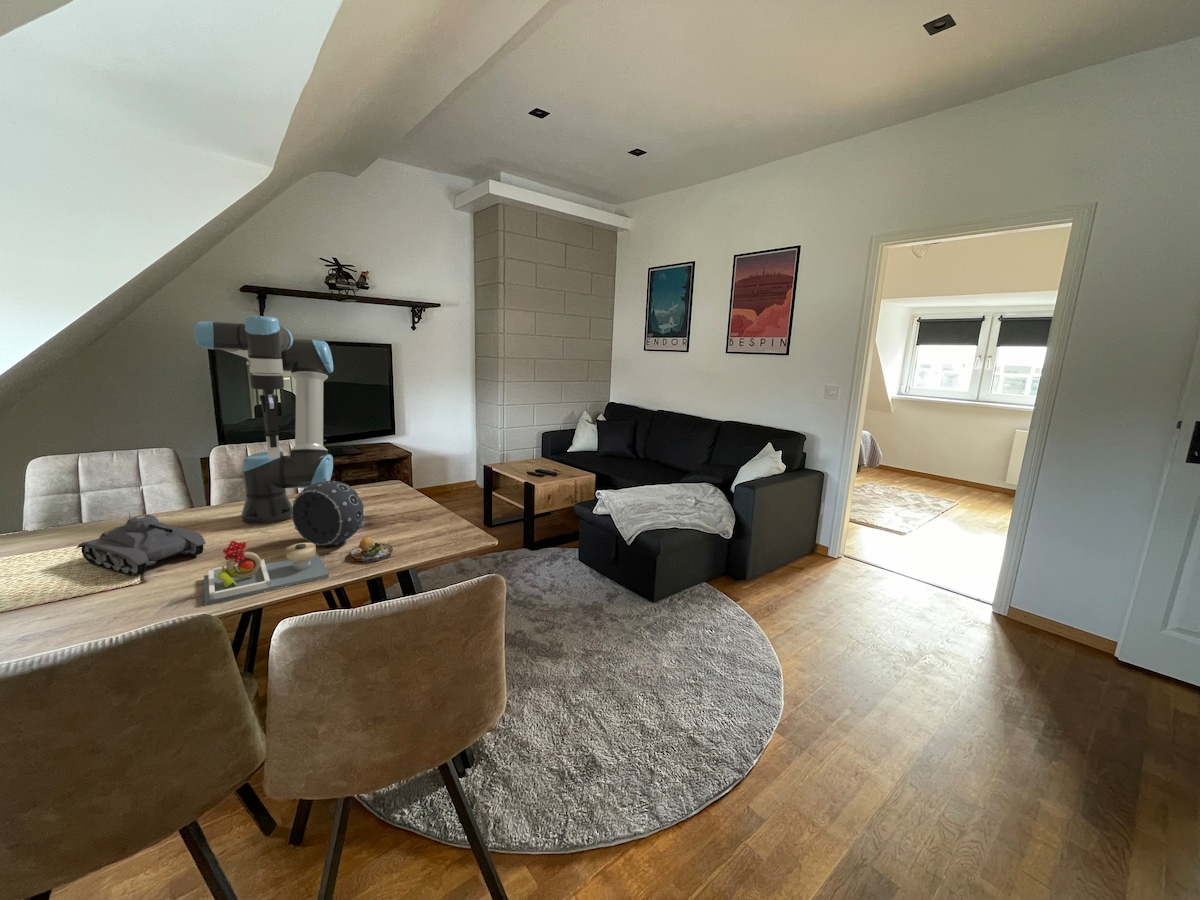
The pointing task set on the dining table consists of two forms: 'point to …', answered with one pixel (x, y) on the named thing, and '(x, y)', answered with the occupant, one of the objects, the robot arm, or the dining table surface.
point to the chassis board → (263, 579)
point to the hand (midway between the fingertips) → (274, 457)
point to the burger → (370, 551)
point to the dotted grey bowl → (327, 513)
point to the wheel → (300, 552)
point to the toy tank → (140, 545)
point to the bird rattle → (246, 564)
